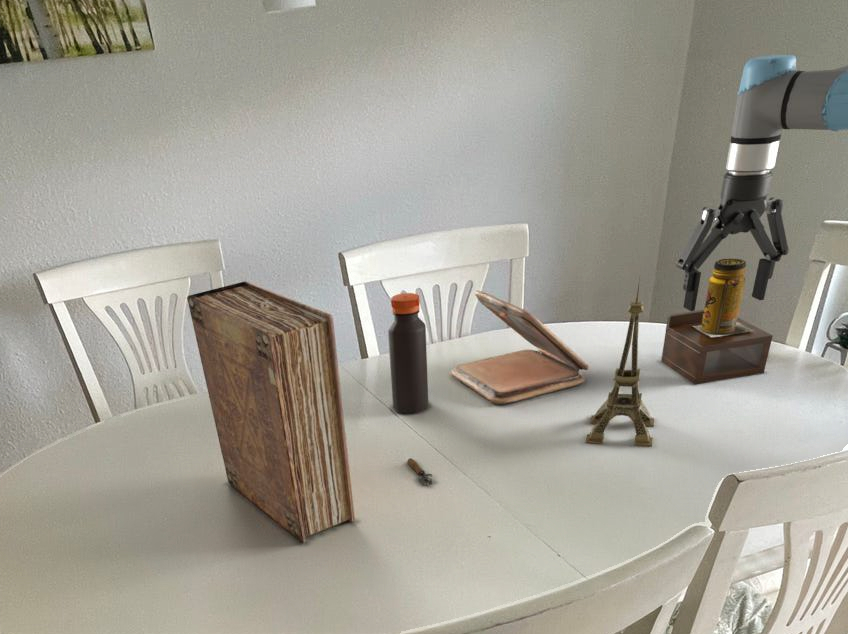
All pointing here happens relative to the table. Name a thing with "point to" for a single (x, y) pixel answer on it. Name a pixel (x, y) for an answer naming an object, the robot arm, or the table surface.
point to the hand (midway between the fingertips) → (723, 303)
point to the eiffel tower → (625, 402)
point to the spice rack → (713, 350)
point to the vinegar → (408, 355)
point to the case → (522, 360)
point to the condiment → (724, 299)
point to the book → (276, 404)
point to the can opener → (420, 472)
